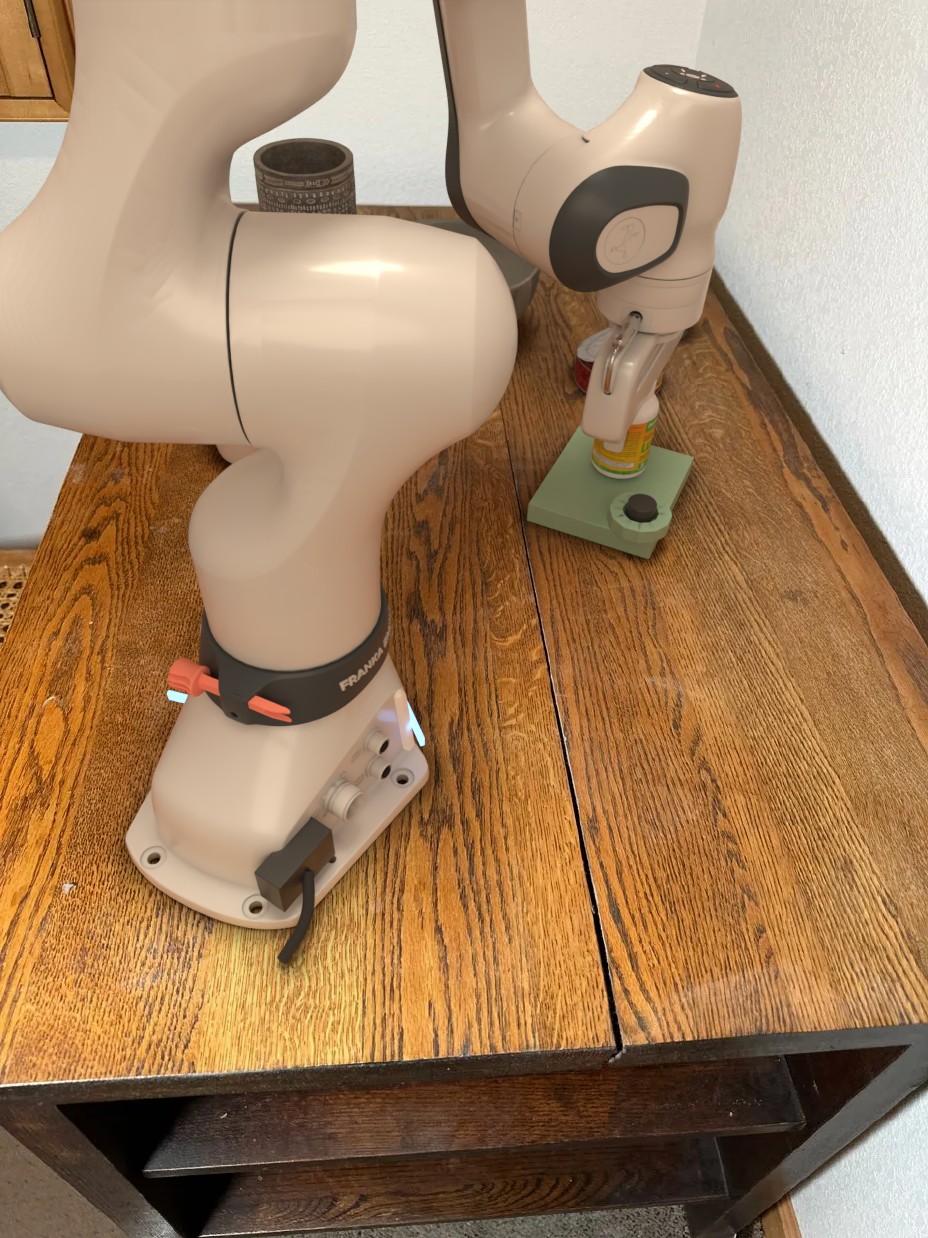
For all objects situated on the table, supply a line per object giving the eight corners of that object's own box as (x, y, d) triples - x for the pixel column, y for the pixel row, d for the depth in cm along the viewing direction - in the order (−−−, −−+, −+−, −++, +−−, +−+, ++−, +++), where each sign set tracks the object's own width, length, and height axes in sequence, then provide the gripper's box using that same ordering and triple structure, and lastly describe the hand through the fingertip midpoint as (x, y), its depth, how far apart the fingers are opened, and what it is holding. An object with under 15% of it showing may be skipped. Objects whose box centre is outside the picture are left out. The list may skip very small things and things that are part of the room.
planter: (367, 274, 120) (362, 171, 110) (272, 284, 117) (258, 179, 108) (350, 232, 127) (344, 133, 118) (260, 241, 125) (247, 140, 116)
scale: (654, 567, 84) (661, 538, 81) (523, 525, 87) (526, 496, 85) (697, 475, 93) (704, 447, 90) (577, 440, 96) (581, 412, 94)
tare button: (649, 526, 83) (652, 515, 82) (621, 518, 84) (624, 506, 83) (658, 509, 84) (660, 498, 83) (630, 501, 85) (633, 490, 84)
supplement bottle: (644, 484, 88) (663, 396, 81) (587, 476, 88) (601, 388, 81) (647, 450, 91) (666, 363, 84) (593, 442, 92) (607, 355, 85)
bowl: (463, 276, 120) (465, 197, 113) (569, 345, 109) (579, 263, 102) (329, 321, 111) (323, 239, 104) (430, 402, 101) (430, 316, 93)
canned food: (605, 438, 105) (580, 382, 96) (572, 382, 110) (545, 324, 102) (697, 387, 103) (679, 325, 95) (658, 332, 108) (638, 269, 100)
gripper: (653, 358, 69) (624, 501, 80) (719, 246, 82) (687, 382, 92) (573, 337, 71) (554, 480, 81) (650, 231, 84) (626, 366, 94)
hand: (625, 427), depth 87 cm, fingers closed on supplement bottle, 5 cm apart
